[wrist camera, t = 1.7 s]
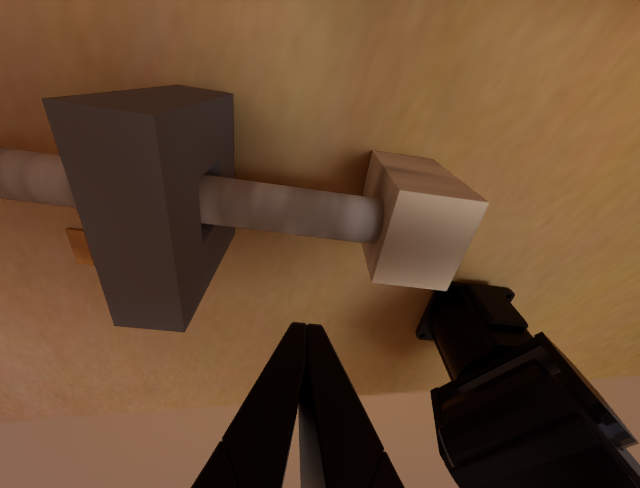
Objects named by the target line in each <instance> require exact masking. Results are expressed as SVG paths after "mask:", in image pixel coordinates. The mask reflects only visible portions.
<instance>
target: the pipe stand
mask: <svg viewBox="0 0 640 488" xmlns="http://www.w3.org/2000/svg"><path fill="white" fill-rule="evenodd" d="M198 190H199V203H200V215H201V223H205V224H213V225H221V226H229V227H238V228H246V229H254V230H262V231H270V232H278V233H286V234H295V235H303V236H311V237H319V238H327V239H335V240H344V241H352V242H360V243H362V246H363V250H364V254H365V258H366V262H367V266H368V270H369V274H370V278H371V282H372V283H378V284H387V285H396V286H405V287H414V288H423V289H432V290H441V291H447V289H448V287H449V285H450V283H451V281H452V279H453V277H454V275H455V273H456V271H457V269H458V267H459V265H460V263H461V260H462V258H463V256H464V254H465V252H466V250H467V248H468V246H469V244H470V242H471V240H472V238H473V236H474V234H475V232H476V230H477V227H478V225H479V223H480V221H481V219H482V217H483V215H484V213H485V211H486V209H487V207H488V205H489V202H488V201H487V200H485V199H484V198H483V197H482V196H480V195H479V194H478V193H476V192H475V191H474V190H472V189H471V188H470V187H469V186H467V185H466V184H465V183H463V182H462V181H461V180H459V179H458V178H457V177H455V176H454V175H453V174H452V173H450V172H449V171H448V170H446V169H445V168H444V167H442V166H441V165H440V164H439V163H437V162H436V161H435V160H433V159H426V158H420V157H413V156H406V155H399V154H393V153H386V152H379V151H372V155H371V159H370V164H369V168H368V172H367V176H366V181H365V185H364V189H363V194H362V196H358V195H351V194H343V193H336V192H329V191H321V190H314V189H306V188H299V187H292V186H284V185H277V184H270V183H262V182H255V181H248V180H240V179H233V178H225V177H218V176H211V175H203V176H201V177H200V178H199V179H198ZM0 198H1V199H9V200H17V201H25V202H34V203H42V204H50V205H58V206H66V207H74V208H77V207H76V204H75V201H74V198H73V195H72V192H71V189H70V186H69V183H68V179H67V176H66V173H65V170H64V167H63V164H62V161H61V158H60V155H56V154H49V153H41V152H34V151H27V150H19V149H12V148H5V147H0ZM65 230H66V233H67V236H68V238H69V241H70V244H71V247H72V250H73V252H74V255H75V258H76V261H77V263H78V264H88V265H95V264H94V261H93V257H92V254H91V251H90V248H89V245H88V242H87V239H86V236H85V232H84V230H79V229H70V228H67V229H65Z"/></svg>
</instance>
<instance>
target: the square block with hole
mask: <svg viewBox="0 0 640 488" xmlns="http://www.w3.org/2000/svg"><path fill="white" fill-rule="evenodd" d="M42 101H43V104H44V108H45V111H46V114H47V117H48V120H49V123H50V126H51V129H52V133H53V136H54V139H55V142H56V145H57V148H58V151H59V154H60V158H61V161H62V164H63V167H64V170H65V173H66V176H67V179H68V183H69V186H70V189H71V192H72V195H73V198H74V201H75V204H76V207H77V211H78V214H79V217H80V220H81V223H82V226H83V229H84V232H85V236H86V239H87V242H88V245H89V248H90V251H91V254H92V257H93V261H94V264H95V267H96V270H97V273H98V276H99V279H100V282H101V286H102V289H103V292H104V295H105V298H106V301H107V304H108V307H109V310H110V314H111V317H112V320H113V323H114V326H122V327H133V328H143V329H154V330H165V331H176V332H185V331H186V329H187V327H188V325H189V323H190V321H191V319H192V317H193V315H194V313H195V311H196V309H197V307H198V305H199V303H200V301H201V299H202V297H203V295H204V293H205V291H206V289H207V288H208V286H209V284H210V282H211V280H212V278H213V276H214V274H215V272H216V270H217V268H218V266H219V264H220V262H221V260H222V258H223V256H224V254H225V252H226V250H227V248H228V246H229V244H230V242H231V240H232V238H233V237H234V235H235V227H229V226H221V225H213V224H205V223H201V215H200V203H199V190H198V179H199V178H200V177H201V176H203V175H211V176H218V177H225V178H233V179H234V114H233V94H231V93H225V92H219V91H213V90H206V89H200V88H194V87H187V86H181V85H172V86H162V87H152V88H142V89H132V90H122V91H113V92H103V93H93V94H83V95H73V96H63V97H53V98H43V99H42Z"/></svg>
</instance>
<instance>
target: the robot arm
mask: <svg viewBox="0 0 640 488" xmlns="http://www.w3.org/2000/svg"><path fill="white" fill-rule="evenodd" d="M514 296H515V294H514V293H513V291H512V290H511V289H507V288H498V287H493V286H485V285H476V284H463V283H454V282H451V283H450V285H449V287H448V289H447V291H441V290H435V291H434V293H433V295H432V297H431V300H430V302H429V304H428V306H427V308H426V311H425V313H424V315H423V317H422V319H421V322H420V324H419V326H418V328H417V330H416V336H417V338H418V339H421V340H431V341H434V342H435V344H436V347H437V349H438V351H439V354H440V356H441V358H442V361H443V363H444V365H445V367H446V370H447V372H448V374H449V377H450V379H451V381H450V382H449V383H447V384H445V385H443V386H441V387H439V388H437V387H436V388H434V389H432V390H431V391H430V392H431V399H432V407H433V413H434V420H435V427H436V434H437V441H438V447H439V453H440V456H441V457H442V459H443V460H444V463H445V465H446V467H447V469H448V470H449V472H450V474H451V476H452V477H453V479H454V480H455V482H456V483H457V485H458V486H459V488H640V465H639V464H638V462H637V461H636V460H635V459H634V458H633V456H632V455H631V454H630V453H629V452H628V450H627V449H626V448H627V447H630V446H633V445H636V444H638V441H637V440H636V439H635V438H634V436H633V435H632V434H631V433H630V431H629V430H628V429H627V428H626V426H625V425H624V424H623V423H622V421H621V420H620V419H619V417H618V416H617V415H616V414H615V412H614V411H613V410H612V409H611V407H610V406H609V405H608V404H607V402H606V401H605V400H604V399H603V397H602V396H601V395H600V394H599V393H598V391H597V390H596V389H595V388H594V387H593V386H592V385H591V383H590V382H589V381H588V380H587V379H586V378H585V377H584V376H583V374H582V373H581V372H580V371H579V370H578V369H577V368H576V367H575V365H574V364H573V363H572V362H571V361H570V360H569V359H568V358H567V357H566V356H565V355H564V354H563V353H562V352H561V351H560V350H559V349H558V348H557V347H556V346H555V345H554V343H553V342H552V341H551V340H550V339H549V338H548V337H547V336H546V335H545V334H544V333H543V332H540V333H538V334H536V335H534V336H535V337H534V338H533V336H532V335H531V334H530V333H529V332H528V330H527V328H528V324H527V322H526V321H525V320H524V318H523V317H522V316H521V315H520V314H519V312H518V311H517V310H516V309H515V308H514V306H513V305H512V304H511V301H512V299H513V298H514ZM298 404H299V407H298ZM298 408H299V443H300V444H299V447H300V474H301V475H300V476H301V488H404V485H403V484H402V482H401V480H400V478H399V476H398V474H397V472H396V470H395V469H394V467H393V465H392V463H391V461H390V459H389V457H388V455H387V453H386V452H383V451H384V447H383V445H382V443H381V441H380V439H379V437H378V435H377V433H376V431H375V429H374V427H373V425H372V423H371V421H370V419H369V417H368V415H367V413H366V411H365V409H364V407H363V405H362V403H361V401H360V399H359V397H358V395H357V393H356V391H355V389H354V387H353V385H352V383H351V381H350V380H349V378H348V376H347V374H346V372H345V370H344V368H343V366H342V364H341V362H340V360H339V358H338V356H337V354H336V352H335V350H334V348H333V346H332V344H331V342H330V340H329V338H328V336H327V334H326V332H325V330H324V328H323V326H322V325H319V324H308V325H306V324H305V323H299V322H292V323H291V324H290V326H289V328H288V329H287V331H286V333H285V334H284V336H283V338H282V339H281V341H280V343H279V344H278V346H277V348H276V349H275V351H274V353H273V354H272V356H271V358H270V359H269V361H268V363H267V364H266V366H265V367H264V369H263V371H262V372H261V374H260V376H259V377H258V379H257V381H256V382H255V384H254V386H253V387H252V389H251V391H250V392H249V394H248V396H247V397H246V399H245V401H244V402H243V404H242V406H241V407H240V409H239V411H238V412H237V414H236V416H235V417H234V419H233V421H232V422H231V424H230V425H229V427H228V429H227V431H226V432H225V434H224V436H223V437H222V441H220V442H219V443H218V445H217V447H216V448H215V450H214V452H213V453H212V455H211V457H210V458H209V460H208V462H207V463H206V465H205V466H204V468H203V469H202V471H201V472H200V474H199V476H198V477H197V479H196V480H195V482H194V484H193V485H192V487H191V488H282V486H283V481H284V476H285V471H286V466H287V461H288V456H289V450H290V446H291V441H292V435H293V430H294V425H295V420H296V415H297V409H298Z"/></svg>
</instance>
